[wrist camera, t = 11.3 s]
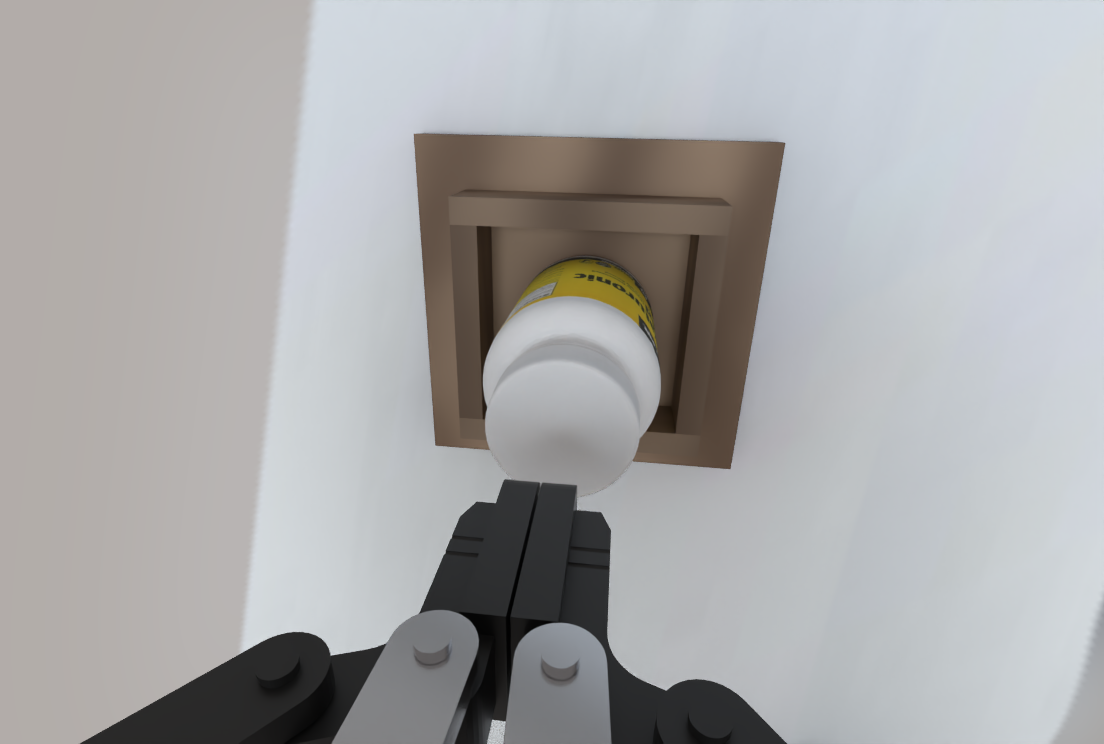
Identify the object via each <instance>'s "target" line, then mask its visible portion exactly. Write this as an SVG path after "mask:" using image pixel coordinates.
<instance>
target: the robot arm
mask: <svg viewBox="0 0 1104 744" xmlns="http://www.w3.org/2000/svg"><path fill="white" fill-rule="evenodd" d="M610 540H611V530H610V528H609V526H608V524H607V522H606V521H605V519H604V517H603V515H602V513H601V512H590V511H579V510H577V485H568V484H556V483H544V482H542V484H541V486H540V482H530V481H518V480H506V479H505V480H504V482H503V484H502V487H501V490H500V493H499V496H498V499H497V502H496V503H486V502H476V503H475V504H474V505H473V506H472V507H470V508H469V509H468V510H467V511H466V512H465V513H464V514H463V515H462V516H460V518H459V521H458V523H457V525H456V528H455V530H454V532H453V535H452V539H451V540H450V542H449V544H448V547H447V549H446V554H444V556H443V559H442V561H441V563H440V566H439V568H438V570H437V573H436V575H435V578H434V580H433V582H432V585H431V587H430V589H429V592H428V594H427V597H426V599H425V601H424V604H423V606H422V608H421V611H420V613H419V614H418V615H415V616H413V617H411V618H410V619H408V620H406V621H405V622H404V623H402V624H401V625H400V626H399V627H398V628H397V629H396V630H395V631H394V633H393V634H392V636H391V637H390V639H389V641H388V642H387V643H386V644H384V645H381V646H378V647H376V648H371V649H367V650H362V651H356V652H350V653H344V654H339V655H333V656H330V652H329V648H328V646H327V645H326V643H325V642H324V641H323V640H322V639H321V638H319V637H317V636H316V635H313V634H310V633H304V632H292V633H285V634H281V635H277V636H274V637H272V638H269V639H267V640H265V641H263V642H261V643H259V644H257V645H255V646H254V647H252V648H250V649H248V650H247V651H245V652H243V653H241V654H239V655H238V656H236V657H234V658H232V659H231V660H229V661H227V662H225V663H224V664H221V665H220V666H218V667H216V668H214V669H213V670H211V671H209V672H207V673H205V674H204V675H202V676H200V677H198V678H196V679H195V680H193V681H191V682H189V683H187V684H186V685H184V686H182V687H180V688H179V689H177V690H175V691H173V692H171V693H170V694H168V695H166V696H164V697H162V698H161V699H159V700H157V701H155V702H153V703H152V704H150V705H148V706H146V707H145V708H143V709H141V710H139V711H138V712H136V713H134V714H132V715H130V716H128V717H127V718H125V719H123V720H121V721H120V722H118V723H116V724H114V725H112V726H111V727H109V728H107V729H105V730H103V731H102V732H100V733H98V734H96V735H94V736H93V737H91V738H89V739H88V740H86V741H84V742H82V743H80V744H487V740H488V736H489V731H490V727H491V722H492V720H499V721H506V725H505V734H504V742H503V744H787V743H786V742H785V741H784V740H783V739H782V738H781V737H780V736H779V735H778V734H777V733H776V732H775V731H774V730H773V729H772V728H771V727H770V726H769V725H768V724H767V723H766V722H765V721H764V720H763V719H762V718H761V717H760V716H759V715H758V714H757V713H756V712H755V711H754V710H753V709H752V708H751V707H750V706H749V705H748V704H747V703H746V702H745V701H744V700H743V699H742V698H741V697H740V696H739V695H738V694H736V693H735V692H733V691H732V690H730V689H729V688H727V687H725V686H723V685H720V684H718V683H715V682H712V681H707V680H698V679H695V680H686V681H683V682H679V683H677V684H675V685H673V686H672V687H671V688H669V689H668V690H667V691H665V690H663V689H660V688H658V687H656V686H653V685H651V684H649V683H646V682H644V681H642V680H640V679H638V678H636V677H635V676H633V675H632V674H630V673H629V672H628V671H627V670H626V669H624V668H623V667H622V666H621V665H620V663H619V662H618V661H617V660H616V658H615V657H614V655H613V654H612V651H611V649H610V647H609V643H608V639H607V622H608V595H609V567H610Z"/></svg>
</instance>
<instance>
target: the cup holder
mask: <svg viewBox="0 0 1104 744" xmlns="http://www.w3.org/2000/svg"><path fill="white" fill-rule="evenodd" d="M414 144H415V159H416V173H417V187H418V202H419V216H420V230H421V245H422V259H423V273H424V287H425V302H426V316H427V330H428V345H429V359H430V373H431V388H432V402H433V416H434V431H435V445H436V446H448V447H461V448H473V449H486V450H490V448H489V446H488V442H487V438H486V432H485V417H486V411H487V405H486V401H485V397H484V391H483V372H484V365H485V361H486V357H487V354H488V352H489V349H490V347H491V345H492V342H493V340H494V339H495V337H496V335H497V334H498V332H499V330H500V329H501V327H502V326H503V324H504V323H505V321H506V320H507V318H508V316H509V315H510V313H511V312H512V310H513V309H514V307H515V305H516V304H517V302H518V301H519V299H520V298H521V296H522V294H523V293H524V291H525V290H526V288H527V287H528V286H529V284H530V283H531V282H532V281H533V279H534V278H535V277H536V276H537V275H538V274H539V273H540V272H541V271H543V270H544V269H545V268H547V267H548V266H550V265H552V264H553V263H556V262H558V261H560V260H563V259H566V258H570V257H575V256H595V257H600V258H604V259H607V260H610V261H612V262H615V263H617V264H618V265H620V266H622V267H623V268H625V269H626V270H627V271H629V272H630V273H631V274H632V275H633V276H634V277H635V278H636V279H637V280H638V282H639V283H640V284H641V286H642V287H643V289H644V291H645V293H646V295H647V297H648V300H649V302H650V305H651V310H652V313H653V321H654V328H655V336H656V343H657V351H658V357H659V363H660V374H661V393H660V400H659V405H658V408H657V411H656V414H655V416H654V418H653V420H652V422H651V424H650V426H649V427H648V429H647V430H646V432H645V433H644V434H643V435H642V437H641V438H640V439H639V444H638V448H637V451H636V454H635V457H634V459H633V461H636V462H648V463H661V464H673V465H686V466H698V467H711V468H723V469H730V468H731V463H732V457H733V451H734V445H735V439H736V433H737V427H738V421H739V415H740V409H741V403H742V397H743V391H744V385H745V379H746V373H747V367H748V361H749V356H750V350H751V344H752V338H753V332H754V326H755V320H756V314H757V308H758V302H759V296H760V290H761V284H762V278H763V272H764V266H765V260H766V254H767V249H768V243H769V237H770V231H771V225H772V219H773V213H774V207H775V201H776V195H777V189H778V183H779V177H780V171H781V165H782V159H783V153H784V147H785V143H781V142H750V141H708V140H667V139H625V138H584V137H542V136H501V135H459V134H414Z"/></svg>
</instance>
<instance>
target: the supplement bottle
mask: <svg viewBox="0 0 1104 744" xmlns="http://www.w3.org/2000/svg"><path fill="white" fill-rule="evenodd" d="M483 391H484V397H485V401H486V405H487V411H486V417H485V432H486V438H487V442H488V446H489V448H490V451H491V453H492V455H493V457H494V458H495V460H496V462H497V463H498V464H499V466H500V467H501V468H502V469H503V470H504V471H505V472H506V474H507V475H508V476H510V477H511V478H512V479H513V480H518V481H530V482H540V486H541V484H542V482H544V483H556V484H568V485H577V497H582V496H586V495H590V494H593V493H596V492H598V491H601V490H603V489H605V488H607V487H608V486H610V485H611V484H613V483H614V482H615V481H616V480H618V479H619V478H620V477H621V476H622V475H623V474H624V473H625V472H626V470H627V469H628V467H629V466H630V464H631V463H632V461H633V459H634V457H635V454H636V451H637V448H638V444H639V439H640V438H641V437H642V435H643V434H644V433H645V432H646V430H647V429H648V427H649V426H650V424H651V422H652V420H653V418H654V416H655V414H656V411H657V408H658V405H659V400H660V393H661V374H660V363H659V357H658V351H657V343H656V336H655V328H654V321H653V313H652V310H651V305H650V302H649V300H648V297H647V295H646V293H645V291H644V289H643V287H642V286H641V284H640V283H639V282H638V280H637V279H636V278H635V277H634V276H633V275H632V274H631V273H630V272H629V271H627V270H626V269H625V268H623V267H622V266H620V265H618V264H617V263H615V262H612V261H610V260H607V259H604V258H600V257H595V256H575V257H570V258H566V259H563V260H560V261H558V262H556V263H553V264H552V265H550V266H548V267H547V268H545V269H544V270H543V271H541V272H540V273H539V274H538V275H537V276H536V277H535V278H534V279H533V281H532V282H531V283H530V284H529V286H528V287H527V288H526V290H525V291H524V293H523V294H522V296H521V298H520V299H519V301H518V302H517V304H516V305H515V307H514V309H513V310H512V312H511V313H510V315H509V316H508V318H507V320H506V321H505V323H504V324H503V326H502V327H501V329H500V330H499V332H498V334H497V335H496V337H495V339H494V340H493V342H492V345H491V347H490V349H489V352H488V354H487V357H486V361H485V365H484V372H483Z"/></svg>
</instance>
